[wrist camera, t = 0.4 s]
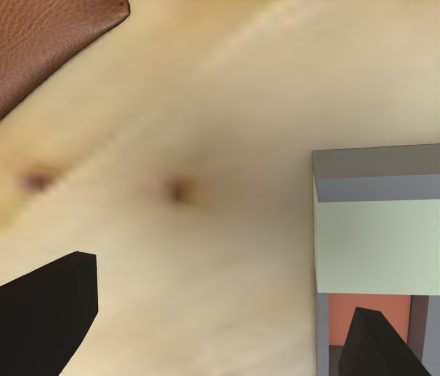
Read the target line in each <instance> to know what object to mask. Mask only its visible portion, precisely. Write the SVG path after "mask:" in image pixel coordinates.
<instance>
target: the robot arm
mask: <svg viewBox="0 0 440 376" xmlns="http://www.w3.org/2000/svg"><path fill="white" fill-rule="evenodd" d="M97 313H98V289H97V263H96V255H94V254H89V253H84V252H79V251H75V252H73V253H70V254H68V255H66V256H63V257H61V258H59V259H57V260H55V261H53V262H51V263H48V264H46V265H44V266H42V267H40V268H38V269H36V270H34V271H32V272H30V273H28V274H25V275H23V276H21V277H19V278H17V279H15V280H13V281H11V282H8V283H6V284H4V285H2V286H0V376H59V374H60V373H61V372H62V370H63V369H64V367H65V366H66V365H67V363H68V362H69V360H70V359H71V357H72V356H73V355H74V353H75V352H76V350H77V349H78V347H79V346H80V345H81V343H82V341H83V339H84V338H85V336H86V334H87V332H88V330H89V329H90V327H91V325H92V323H93V321H94V319H95V317H96V315H97ZM338 373H339V376H432V375H431V374H430V373H429V372H428V371H427V369H426V368H425V367H424V366H423V364H422V363H421V362H420V361H419V359H418V358H417V357H416V356H415V354H414V353H413V352H412V351H411V349H410V348H409V347H408V346H407V344H406V343H405V342H404V340H403V339H402V338H401V337H400V335H399V334H398V333H397V331H396V330H395V329H394V328H393V326H392V325H391V324H390V322H389V321H388V320H387V319H386V317H385V316H384V315H383V314H382V312H381V311H377V310H372V309H367V308H362V307H357V306H356V308H355V311H354V314H353V318H352V321H351V324H350V327H349V331H348V334H347V337H346V340H345V344H344V347H343V350H342V353H341V357H340V360H339V363H338Z"/></svg>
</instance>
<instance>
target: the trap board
mask: <svg viewBox="0 0 440 376" xmlns="http://www.w3.org/2000/svg"><path fill="white" fill-rule="evenodd" d="M312 154H313V202H314V249H315V297H316V344H317V376H339V373H338V363H339V360H340V357H341V353H342V350H343V347H344V344H345V340H346V337H347V334H348V331H349V327H350V324H351V321H352V318H353V314H354V311H355V308H356V306H357V307H362V308H367V309H372V310H377V311H381V312H382V314H383V315H384V316H385V317H386V319H387V320H388V321H389V322H390V324H391V325H392V326H393V328H394V329H395V330H396V331H397V333H398V334H399V335H400V337H401V338H402V339H403V340H404V342H405V343H406V344H407V346H408V347H409V348H410V349H411V351H412V352H413V353H414V354H415V356H416V357H417V358H418V359H419V361H420V362H421V363H422V364H423V366H424V367H425V368H426V369H427V371H428V372H429V373H430V374H431V375H432V376H440V144H426V145H409V146H391V147H374V148H356V149H338V150H321V151H312Z"/></svg>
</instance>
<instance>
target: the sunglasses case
mask: <svg viewBox="0 0 440 376" xmlns="http://www.w3.org/2000/svg"><path fill="white" fill-rule="evenodd" d="M129 14H130V4H129V2H128V0H0V120H1V119H2V118H3V117H4V116H5V115H6V114H7V113H8V112H9V111H11V110H12V109H13V107H15V106H16V105H17V104H18V103H20V102H21V101H22V100H23V98H25V97H26V96H27V95H28V94H29V93H30V92H31V91H32V90H34V89H35V88H36V87H37V86H39V85H40V84H41V83H42V82H43V81H44V80H45V79H47V78H48V76H49V75H51V74H52V73H53V72H54V71H56V70H57V69H58V68H59V67H60V66H62V65H63V64H64V63H65V62H66V61H67V60H68V59H69V58H70V57H71V56H73V55H74V54H76V53H77V52H79V51H80V50H81V49H83V48H84V47H85V46H86V45H88V44H89V43H90V42H92V41H93V40H95V39H96V38H97V37H99V36H100V35H102V34H104V33H105V32H106V31H109V30H111V29H112V28H114V27H115V26H117V25H119V24H120V23H121V22H122V21H124V20H125V19H126V18H127V16H129Z"/></svg>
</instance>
